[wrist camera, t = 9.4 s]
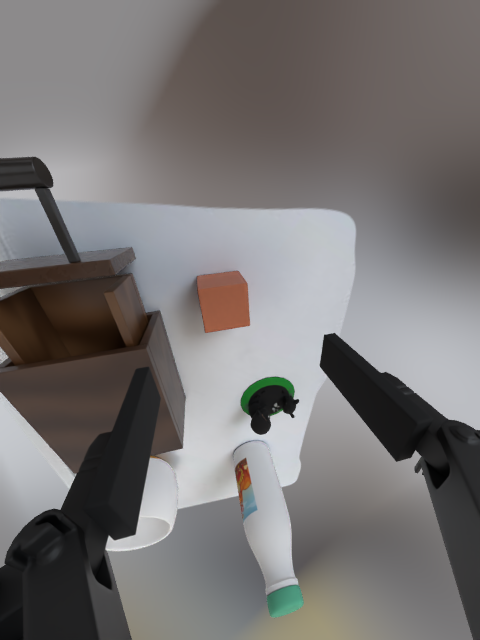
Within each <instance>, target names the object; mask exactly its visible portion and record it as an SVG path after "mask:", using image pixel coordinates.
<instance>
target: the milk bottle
mask: <svg viewBox="0 0 480 640" xmlns="http://www.w3.org/2000/svg"><path fill="white" fill-rule="evenodd" d="M233 459H234V467H235V474H236V480H237V487H238V493H239V499H240V506H241V511H242V518H243V523H244V528H245V532H246V536H247V539H248V542H249V545H250V547H251V549H252V551H253V553H254V555H255V557H256V559H257V561H258V563H259V565H260V567H261V570H262V573H263V575H264V578H265V582H266V590H265V592H266V594H267V602H268V608H269V613H270V616H271V617H280V616H283V615H286V614H289V613H291V612H294V611H295V610H298V609H299V608H301V607H302V606H303V603H304V602H303V597H302V593H301V590H300V587H299V586H298V580H297V578H295V575H294V571H293V564H292V554H291V523H290V518H289V513H288V510H287V506H286V502H285V499H284V496H283V492H282V489H281V486H280V482H279V479H278V476H277V473H276V470H275V466H274V463H273V460H272V457H271V453H270V450H269V448H268V446H267V445H266V444H265V443H264V442H261V441H252V442H248V443H245V444H243V445H241V446H240V447H238V448H237V449H236V451H235V452H234V456H233Z"/></svg>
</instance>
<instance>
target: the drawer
mask: <svg viewBox="0 0 480 640" xmlns="http://www.w3.org/2000/svg"><path fill="white" fill-rule="evenodd" d="M51 187H53V179H52V176H51V174H50V172H49V170H48V168H47V167H46V165H45V164H44V163H43V162H42V161H41V160H40V159H38V158H36V157H22V158H2V159H1V158H0V191H13V190H28V189H35V191H36V193H37V195H38V197H39V200H40V202H41V204H42V206H43V208H44V210H45V212H46V214H47V217H48V219H49V221H50V223H51V225H52V227H53V229H54V231H55V233H56V236H57V238H58V240H59V242H60V244H61V246H62V248H63V250H64V252H65V254H62V255H52V256H43V257H33V258H24V259H14V260H5V261H2V262H0V289H3V288H12V287H20V286H26V287H23V288H21V289H19V290H16V291H14V292H12V293H9V294H7V295H5V296H3V297H0V347H1V348H2V349H3V351H4V352H5V353H6V354H7V356H8V357H9V358H10V359H11V361H12V362H13V363H14V364H15V366H17V365H23V364H29V363H35V362H41V361H47V360H53V359H59V358H65V357H72V356H78V355H84V354H90V353H96V352H102V351H108V350H114V349H120V348H126V347H132V346H138V345H140V343H141V340H142V338H143V335H144V333H145V331H146V328H147V326H148V324H149V321H148V318H147V315H146V312H145V309H144V306H143V303H142V300H141V297H140V294H139V291H138V288H137V286H136V283H135V280H134V277H133V274H132V273H129V274H121V275H116V274H117V273H118V272H120V271H121V270H122V269H123V268H125V267H126V266H127V265H129V264H130V263H131V262H132V261H134V260H135V259H136V258H135V254H134V251H133V248H132V247H128V248H119V249H109V250H100V251H90V252H81V253H78V252H77V250H76V248H75V246H74V243H73V241H72V239H71V237H70V234H69V232H68V230H67V227H66V225H65V223H64V221H63V218H62V216H61V214H60V212H59V209H58V207H57V205H56V203H55V200H54V198H53V196H52V194H51V191H50V189H47V188H51ZM111 275H112V276H111ZM103 276H104V277H103ZM95 277H96V278H95ZM86 278H88V279H86ZM78 279H79V280H78ZM70 280H71V281H70ZM61 281H63V282H61ZM53 282H55V283H53ZM45 283H46V284H45ZM37 284H38V285H37ZM28 285H30V286H28Z"/></svg>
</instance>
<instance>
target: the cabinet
mask: <svg viewBox="0 0 480 640" xmlns="http://www.w3.org/2000/svg"><path fill="white" fill-rule="evenodd" d="M146 315H147V318H148V321H149V324H148V326H147V328H146V331H145V333H144V335H143V338H142V340H141V343H140V345H138V346H132V347H126V348H120V349H114V350H108V351H102V352H96V353H90V354H84V355H78V356H72V357H65V358H59V359H53V360H47V361H41V362H35V363H29V364H23V365H17V366H15V364H14V363H13V362H12V361H11V359H10V358H8V359H6V360H5V361H4V362H2V363H1V364H0V392H1V393H2V394H3V395H4V396H5V397H6V398H7V400H8V401H9V402H10V403H11V404H12V405H13V406H14V407H15V408H16V409H17V411H18V412H19V413H20V414H21V415H22V416H23V417H24V418H25V419H26V421H27V422H28V423H29V424H30V425H31V426H32V427H33V428H34V429H35V430H36V432H37V433H38V434H39V435H40V436H41V437H42V438H43V439H44V440H45V442H46V443H47V444H48V445H49V446H50V447H51V448H52V449H53V450H54V451H55V453H56V454H57V455H58V456H59V457H60V458H61V459H62V460H63V461H64V463H65V464H66V465H67V466H68V467H69V468H70V469H71V470H72V471H73V472H74V473H78V472H79V468H80V466H81V464H82V462H83V461H84V457H85V455H86V453H87V450H88V448H89V446H90V445H91V444H92V442H93V441H94V440H95V439H96V437H97V436H98V435H99V434H101V433H106V432H111V431H112V430H113V427H114V424H115V422H116V419H117V416H118V414H119V411H120V409H121V406H122V403H123V401H124V398H125V396H126V393H127V390H128V388H129V385H130V383H131V380H132V377H133V375H134V372H135V370H136V369H137V368H143V367H149V368H150V370H151V373H152V375H153V378H154V381H155V383H156V386H157V389H158V391H159V394H160V397H161V401H160V406H159V412H158V417H157V423H156V428H155V433H154V439H153V444H152V449H151V455H150V456H152V455H156V454H161V453H165V452H169V451H174V450H178V449H182V448H183V436H184V417H185V400H186V397H185V394H184V391H183V387H182V384H181V380H180V377H179V374H178V370H177V367H176V364H175V360H174V357H173V353H172V350H171V347H170V343H169V340H168V336H167V333H166V330H165V326H164V323H163V319H162V316H161V313H160V311H155V312H148V313H146Z"/></svg>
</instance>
